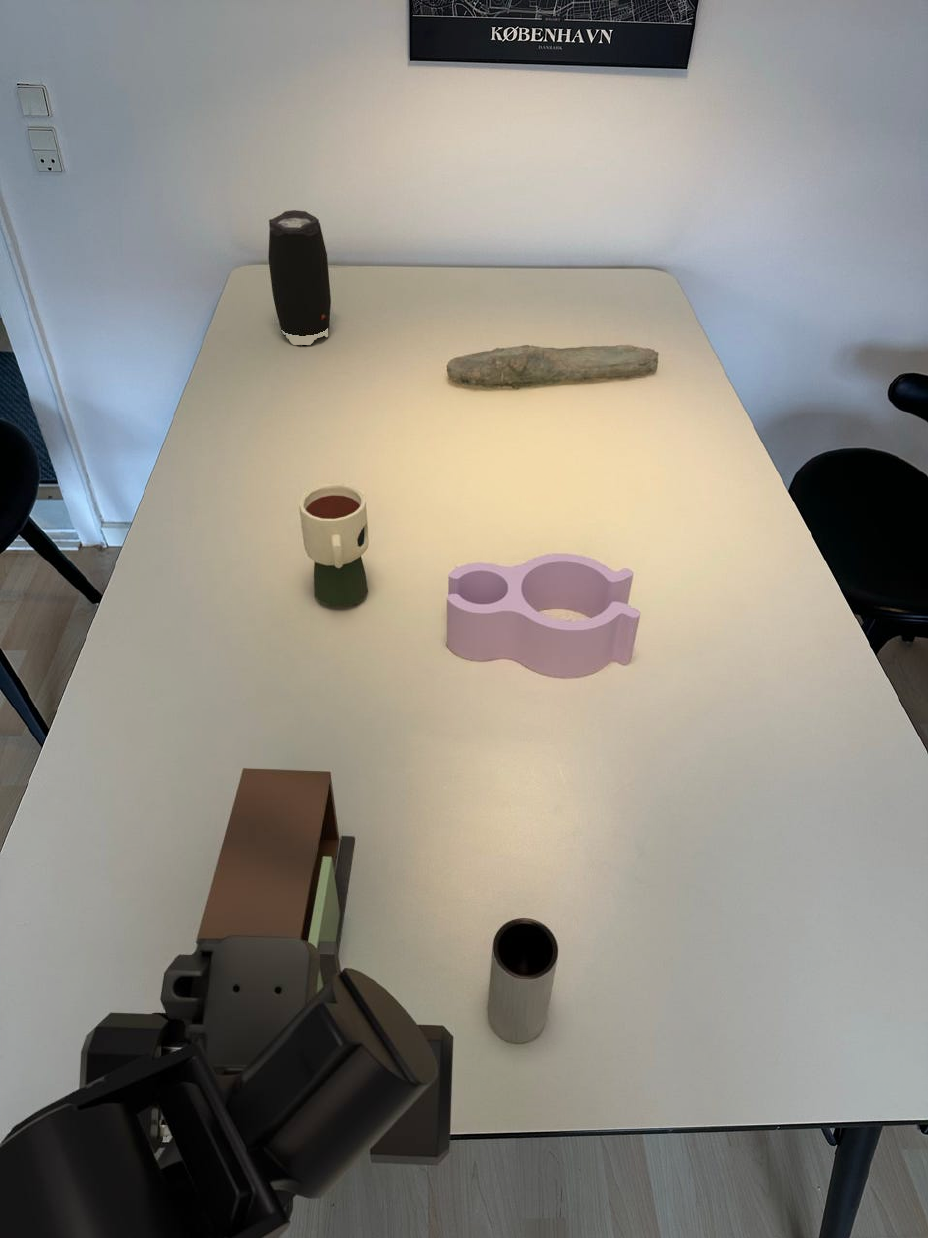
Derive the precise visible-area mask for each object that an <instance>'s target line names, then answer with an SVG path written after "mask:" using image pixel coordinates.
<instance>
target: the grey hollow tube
mask: <svg viewBox="0 0 928 1238" xmlns="http://www.w3.org/2000/svg"><path fill="white" fill-rule="evenodd" d="M558 958H559V945H558V940H557V938H556V936H555V934H554V933H553V932H552V930H551V929H550V928H549V927H548V926H546V925H545V924H544V923H542V922H541V921H539V920H537V919H533V918H528V917H520V918H514V919H511V920H509V921H507V922H505V923H504V924H503V925H501V927H500V928H498V929H497V931H496V932H495V935H494V937H493V941H492V946H491V960H490V972H489V986H488V999H487V1019H488V1022H489V1025H490V1027H491V1029H492V1031H493V1032H494V1034H496V1035H497V1036H498V1037H499V1038H501V1039H503V1040H504V1041H506V1042H509V1043H512V1044H525V1043H528V1042H531V1041H533V1040H534V1039H536V1038H537V1037H538V1036H539V1035H540V1034H541V1033H542V1031H543V1030H544V1028H545V1025H546V1022H547V1019H548V1013H549V1007H550V1002H551V997H552V991H553V986H554V981H555V975H556V970H557V969H556V968H557V963H558Z"/></svg>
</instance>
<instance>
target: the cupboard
mask: <svg viewBox="0 0 928 1238" xmlns="http://www.w3.org/2000/svg"><path fill="white" fill-rule="evenodd" d="M337 817H338V816H337V810H336V803H335V795H334V787H333V780H332V773H331V771H328V770H327V771H324V770H303V769H302V770H299V769H298V770H297V769H274V768H273V769H272V768H252V767H251V768H247V767H243V768H242V771H241V775H240V779H239V782H238V786H237V790H236V793H235V797H234V800H233V804H232V807H231V812H230V815H229V819H228V822H227V826H226V830H225V833H224V837H223V840H222V844H221V848H220V852H219V855H218V859H217V863H216V866H215V869H214V874H213V878H212V881H211V885H210V889H209V891H208V892H209V893H208V895H207V899H206V904H205V907H204V911H203V915H202V918H201V921H200V925H199V929H198V932H197V937H196V939H195V943H196V944H197V943H198V940H199V939H200V938H222V939H223V938H225V937H227V936H231V935H243V936H270V937H293V938H298V939H301V940H304V941H307V942H308V939H309V933H310V927H311V922H312V916H313V910H314V904H315V899H316V893H317V887H318V881H319V876H320V870H321V864H322V858H323V856H325V857H332V862H333V868H334V870H335V872H334V875H335V882H336V889H337V896H338V903H339V910H340V917H339V924H338V931H337V937H336V944H337V950H338V955H339V952H340V946H341V940H342V934H343V933H342V932H343V925H344V918H345V913H346V906H347V897H348V890H349V885H350V878H351V871H352V862H353V857H354V850H355V843H356V836H355V835H354V836H352V835H341V836H340V833H339V825H338V819H337ZM337 855H338V856H337Z"/></svg>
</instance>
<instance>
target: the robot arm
mask: <svg viewBox="0 0 928 1238" xmlns="http://www.w3.org/2000/svg"><path fill="white" fill-rule="evenodd" d="M319 969H320V955H319V952H318V950H317V948H316V947H315V946H314V945H313V944H312V943H310V942H307V941H304V940H301V939H298V938H293V937H270V936H243V935H231V936H227V937H225V938H223V939H222V938H200V939H199V940H198V943H196V949H195V951H194V952H193V953H191V954H181V953H180V954H178V955H177V956H175V958H174V959H173V960H172V962H171V963H170V964H169V966H168V967H167V968H166V970H165V971H164V973H163V978H162V986H161V991H160V997H159V1000H160V1003H161V1005H162V1007H163V1010H164V1012H152V1013H134V1012H109V1013H108V1014H107V1015H106V1016H105V1017H104V1018H103V1019H102V1020H101V1021H100V1022H98V1024H97V1025H96V1026H94V1027H93V1029H91V1030H90V1032H89V1033H87V1034H86V1036H85V1039H84V1042H83V1045H82V1048H81V1050H80V1063H79V1064H80V1065H79V1085H78V1089H76V1090H74V1091H73V1092H71V1093H69V1094H67V1095H65V1096H63V1097H61V1098H59V1099H57V1100H55V1101H53V1102H52V1103H49V1104H48V1105H46V1106H44V1107H41V1108H40V1109H38V1110H37V1111H35V1112H33V1113H32V1114H31V1115H29V1116H28V1117H26V1118H25V1119H23V1120H22V1121H21V1122H19V1123H17V1124H16V1125H14V1126H13V1127H12V1128H11V1130H10V1131H9V1132H8V1133H7V1134H6V1136H5V1137H4V1138H3V1140H2V1141H1V1142H0V1238H280V1237H282V1236H283V1234H284V1233H286V1231H287V1230H288V1229H289V1228H290V1226H291V1220H290V1219H291V1216H292V1213H293V1211H294V1198H295V1197H296V1196H299V1197H302V1198H305V1199H308V1200H314V1199H321V1198H323V1197H325V1196H328V1195H329V1193H330V1192H331V1191H332V1190H333V1189H334V1188H335V1187H336V1186H338V1184H339V1183H340V1182H341V1181H342V1180H343V1179H344V1178H345V1177H346V1176H347V1174H349V1173H350V1171H351V1170H352V1169H354V1167H355V1166H356V1165H357V1164H358V1163H359V1162H360V1161H361V1160H362V1159H363V1158H364V1157H365V1156H366V1155H367V1154H368V1153H369V1158H370V1163H371V1164H389V1165H390V1164H391V1165H392V1164H393V1165H414V1166H415V1165H416V1166H417V1165H418V1166H439V1165H440V1164H441V1163H442V1161H443V1160H444V1159H445V1158H446V1157H447V1156H448V1154H450V1148H451V1123H452V1096H453V1095H452V1094H453V1063H454V1058H453V1057H454V1036H453V1035H452V1033H451V1032H450V1031H449V1030H448V1029H447V1028H446V1027H445V1026H444V1025H442V1024H441V1025H439V1024H417V1022H416V1021H415V1019H414V1018H413V1017H412V1016H411V1014H410V1013H409V1012H408V1011H407V1009H406V1008H405V1007H404V1006H403V1005H402V1004H401V1003H400V1002H399V1001H398V1000H397V998H395V997H394V996H393V995H392V994H391V993H390V992H389V991H388V990H387V989H386V988H385V987H383V986H382V985H381V984H379V983H378V982H377V981H375V979H373V978H372V977H370V976H368V975H367V974H365V973H363V972H362V971H359V970H356V969H354V968H350V967H345V968H344V969H342V970H341V972H339V973H336V974H335V975H334V976H333V977H332V978H331V979H330V980H329V981H328V982H327V983H326V984H325V985H324V986H323V987H322V988H321V989H320V991H319V992H318V993H317V984H318V974H319ZM169 1136H171V1138H170V1140H169V1141H168V1142H167V1144H166V1146H165V1147H164V1148H163V1150H162V1152H161V1154H160V1155H159V1157H158V1158H156V1154H157V1153H158V1151H159V1149H160V1148H161V1146H162V1144H163V1143H164V1137H165V1138H166V1137H169Z"/></svg>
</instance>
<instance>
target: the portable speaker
mask: <svg viewBox="0 0 928 1238" xmlns="http://www.w3.org/2000/svg"><path fill="white" fill-rule="evenodd" d="M268 226H269V227H268V228H269V233H268V234H269V236H268V256H267V257H268V264H269V265H268V267H269V274H270V275H269V276H270V282H271V291H272V297H273V302H274V303H273V304H274V309H275V313H276V316H277V320H278V324H279V328H280V331H281V330H283V331H284V332H285V333H288V334H292V335H299V336H306V335H314V334H318V333H320V332H323V331H325V330H326V329H327V328H328V327H329V328H330V321H331V308H332V307H331V306H332V298H331V297H332V296H331V287H330V274H329V260H328V252H327V249H326V244H325V240H324V235H323V232H322V227H321V223H320V220H319V219H318V218H317V217H316V216H314V215H312V214H311V213H309V212H307V211H306V210H298V209H293V210H286V211H285V210H284V211H283V212H282V213H281V214H279V215H277V216H275V217H273V218H270V219H268Z"/></svg>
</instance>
